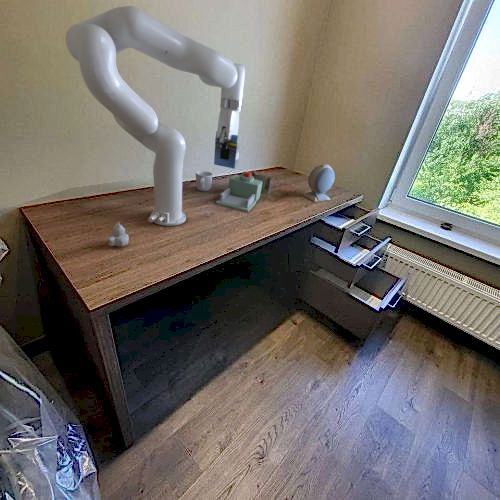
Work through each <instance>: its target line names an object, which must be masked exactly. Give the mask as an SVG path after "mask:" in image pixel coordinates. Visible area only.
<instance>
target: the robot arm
mask: <svg viewBox="0 0 500 500" xmlns="http://www.w3.org/2000/svg"><path fill="white" fill-rule="evenodd" d="M64 39H65V45H66V48H67V51H68V52H69V53H70V55H71V56H72V58H74V59H75V61H77V62H78V63H79V69H80V74H81V77H82V79H83V81H84V84H85V86H86V88H87V89H88V92H89V93H90V94H91V95H92V96H93V98H95V100H96V101H98V102H99V104H101V105H102V106H103V107H104V108H105V109H106V110H108V111H109V113H110V114H112V116H113V118H114V120H115V122H116V123H117V124H118V126H120V128H122V129H123V130H124V131H125V132H126V133H128V134H129V135H130V136H131V137H133V139H135V140H136V141H137V142H138V143H140V144H141V145H143V146H144V147H145V148H146V149H148V150H149V151H151V152H153V153H154V154H155V156H154V162H153V166H152V168H153V169H152V176H153V200H154V202H153V204H154V209H153V211H152V212H151V213H150V216H149V217H148V218H147V221H148V222H149V223H154V224H156V225H160V226H164V227H176V226H179V225H182V224H183V223H185V222H186V220H187V216H186V214H185V213H184V212H183V170H184V168H183V167H184V160H185V155H186V150H187V149H186V148H187V144H186V139H185V138H184V136H183V134H181V132H179V131H178V130H177V129H175V128H173V127H172V126H168V125H166V124H163V123H161V122H160V121H159V119H158V115H157V113H156V111H155V110H154V108H152V107H151V105H149V104H148V102H146V101H145V100H144V99H143V98H141V97H140V95H138V94H137V93H136V92H135V91H134V89H133V88H131V86H129V85H128V84H127V82H126V81H125V80H124V79H123V77H122V76H121V74H120V73H119V70H118V66H117V54H118V53H121V52H122V51H124V50H126V49H134V50H135V51H138V52H140V53H142V54H144V55H145V56H148V57H150V58H152V59H154V60H155V61H158V62H160V63H162V64H164V65H166V66H167V67H170V68H172V69H175V70H178V71H181V72H185V73H189V74H194V75H196V76H198V77H199V79H200V80H201V82H202V83H203V84H205V85H207V86H209V87H210V86H211V87H216V88H221V89H220V106H219V109H220V110H219V115H218V122H217V130H216V131H217V138H219V139H220V140H219V141H220V143H221V152H220V158H221V159H225V160H228V158H229V149H228V148H229V141H230V140H231V139H232V135H237V136H238V134H239V127H240V112H242V107H243V98H244V90H245V89H244V88H245V77H246V67H245V65H243V64H240V63H236V62H233V61H232V60H231V59H229V58H228V57H227V56H225V55H223V54H221V53H220V52H218V51H217V50H215V49H213V48H211V47H209V46H207V45H204V44H203V43H201V42H199V41H196V40H194V39H193V38H190V37H188V36H186V35H184V34H181V33H180V32H178V31H177V30H175V29H173V28H172V27H170V26H169V25H166V24H165V23H164V22H162V21H160V20H159V19H157V18H155V17H154V16H152V15H151V14H149V13H147V12H146V11H144V10H143V9H140V8H139V7H136V6H133V5H124V6H123V5H122V6H116V7H114V8H111V9H109V10H108V11H105V12H103V13H100V14H97V15H95V16H93V17H90V18H88V19H85V20H84V21H83V20H82V21H81V22H78V23H75V24H73V25H71V26H70V27H69V28H68V29H67V31H66V33H65V38H64ZM225 138H226V139H225ZM225 141H227V144H226V142H225Z"/></svg>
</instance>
